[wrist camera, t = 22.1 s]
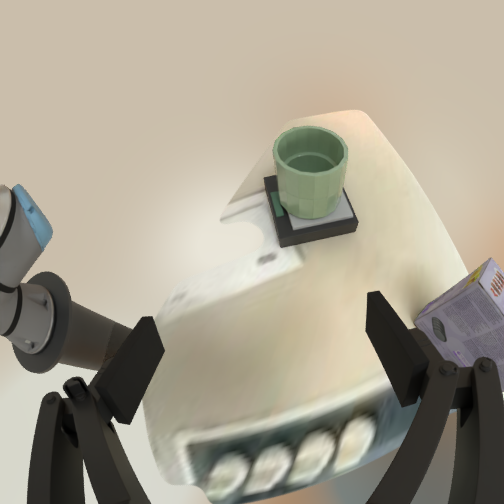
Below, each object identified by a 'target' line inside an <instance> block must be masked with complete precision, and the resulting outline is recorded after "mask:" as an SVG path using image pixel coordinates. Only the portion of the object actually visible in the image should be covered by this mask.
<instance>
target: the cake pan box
mask: <svg viewBox="0 0 504 504" xmlns="http://www.w3.org/2000/svg"><path fill="white" fill-rule="evenodd" d="M414 324H415V325H416V327H417V328H419V329H420V330H421V331H423V332H424V333H425V334H426V335H427V337H428V338H429V339H430V341H431V342H432V344H433V345H434V346H435V347H436V349H437V350H438V351H439V353H440V354H441V355H442V357H443V358H444V360H449V361H452V362H454V363H456V364H457V365H458V367H470V366H473V364H474V362H475V360H476V359H478V358H479V357H488V358H491V359H492V360H493V361H495V363H496V365H497V368H498V373H499V378H500V383H501V388H502V392H504V273H503V271H502V270H501V269H500V268H499V266H498V265H497V264H496V262H495V261H494V260H493V259H492V258H490V259H488V260H487V261H486V262H484V263H483V264H482V265H481V266H480V267H478V268H477V269H476V270H475V271H474V272H472V273H471V274H469V275H468V276H467V277H465V278H464V279H463V280H461V281H460V282H459V283H457V284H456V285H454V286H453V287H452V288H450V289H449V290H448V291H446V292H445V293H444V294H442V295H441V296H439V297H438V298H436V299H435V300H433V301H432V302H430V303H429V304H428V305H427V306H426V307H425V308H424V309H423V311H422V312H421V313H420V314H419V315H418V317H417V318H416V319H415V321H414Z"/></svg>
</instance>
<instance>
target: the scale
mask: <svg viewBox="0 0 504 504" xmlns="http://www.w3.org/2000/svg"><path fill="white" fill-rule="evenodd" d="M264 182H265V188H266V192H267V196H268V199H269V203H270V207H271V211H272V215H273V219H274V223H275V227H276V230H277V234H278V238H279V242H280V247H281V248H283V247H288V246H292V245H297V244H301V243H306V242H311V241H315V240H320V239H324V238H329V237H333V236H338V235H342V234H347V233H351V232H355V231H356V228H357V225H358V220H357V217H356V215H355V213H354V210H353V208H352V206H351V203H350V201H349V199H348V197H347V194H346V192H345V190H344V188H343V190H342V196H341V201H340V203H339V205H338V206H337V208H336V209H335V211H333V212H332V213H330V214H329V215H327V216H325V217H322V218H317V219H305V218H299V217H297V216H295V215H293V214H291V213H289V212H288V211H287V210H286V209H285V208H284V207H283V206H282V205H281V203H280V200H279V196H278V191H277V182H276V175H274V176H269V177H264Z"/></svg>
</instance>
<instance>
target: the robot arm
mask: <svg viewBox="0 0 504 504" xmlns="http://www.w3.org/2000/svg"><path fill="white" fill-rule="evenodd" d="M52 233H53V230H52V227H51V225H50V223H49V221H48V220H47V219H46V217H45V216H44V214H43V213H42V211H41V210H40V209H39V207H38V206H37V205H36V203H35V202H34V201H33V199H32V198H31V196H30V195H29V194H28V193H27V191H26V190H25V189H24V188H23V187H22V186H21V185H20V184H17V185H16V186H14V187H13V188H12V191H11V190H10V189H9V188H8V187H6V186H5V185H0V335H1V336H4V337H6V338H7V339H8V340H9V341H11V342H12V343H13V344H14V345H16V346H17V347H18V348H19V349H21V350H22V351H23V352H25V353H28V354H32V355H37V354H40V353H42V352H43V351H44V350H45V349H46V348H47V347H48V345H49V343H50V342H51V339H52V337H53V334H54V331H55V327H56V320H57V309H56V303H55V299H54V297H53V295H52V293H51V292H50V291H49V290H48V289H46V288H44V287H43V286H41V285H36V284H26V283H20V282H21V280H22V279H23V277H24V276H25V275H26V274H27V272H28V271H29V269H30V268H31V267H32V265H33V264H34V262H35V261H36V260H37V258H38V257H39V256H40V255H41V253H42V252H43V251H44V248H45V247H46V245H47V244H48V242H49V241H50V239H51V238H52ZM365 331H366V333H367V335H368V337H369V339H370V341H371V343H372V345H373V347H374V349H375V351H376V353H377V355H378V357H379V359H380V361H381V363H382V365H383V367H384V369H385V372H386V374H387V376H388V378H389V380H390V382H391V384H392V387H393V389H394V391H395V393H396V395H397V398H398V400H399V402H400V404H401V407H405V406H409V405H412V404H415V403H416V402H417V399H418V396H420V398H421V400H422V401H421V403H420V406H419V408H418V411H417V413H416V415H415V417H414V420H413V422H412V424H411V426H410V428H409V431H408V433H407V435H406V437H405V439H404V441H403V443H402V445H401V447H400V448H399V450H398V452H397V454H396V456H395V458H394V460H393V461H392V463H391V465H390V467H389V468H388V470H387V472H386V473H385V475H384V477H383V478H382V480H381V481H380V483H379V485H378V486H377V488H376V489H375V491H374V492H373V494H372V495H371V497H370V498H369V500H368V501H367V502H366V504H410V503H411V501H412V499H413V498H414V496H415V494H416V492H417V490H418V488H419V486H420V484H421V482H422V480H423V478H424V476H425V474H426V472H427V470H428V467H429V464H430V463H431V460H432V458H433V456H434V453H435V451H436V448H437V446H438V443H439V441H440V438H441V435H442V433H443V429H444V427H445V424H446V421H447V418H448V415H449V411H450V409H457V435H456V451H455V461H454V471H453V478H452V484H451V490H450V496H449V501H448V504H504V400H503V394H502V388H501V383H500V378H499V373H498V368H497V365H496V363H495V361H493V360H492V359H491V358H488V357H479V358H478V359H476V360H475V362H474V364H473V366H470V367H458V365H457V364H456V363H454V362H452V361H449V360H444V358H443V357H442V355H441V354H440V353H439V351H438V350H437V349H436V347H435V346H434V345H433V344H432V342H431V341H430V339H429V338H428V337H427V335H426V334H425V333H424V332H423V331H421V330H420V329H418V328H413V329H409V330H408V329H407V327H406V326H405V324H404V323H403V322H402V320H401V319H400V318H399V316H398V315H397V313H396V312H395V311H394V309H393V308H392V307H391V305H390V304H389V303H388V301H387V300H386V299H385V298H384V296H383V295H382V294H381V292H380V291H374V292H368V293H367V314H366V330H365ZM164 352H165V349H164V347H163V344H162V341H161V339H160V336H159V333H158V331H157V328H156V325H155V322H154V319H153V317H152V316H148V317H142V318H141V319H140V320H139V322H138V323H137V325H136V326H135V327H134V329H133V330H132V332H131V333H130V334H129V336H128V337H127V339H126V340H125V341H124V343H123V344H122V346H121V347H120V349H119V350H118V351H117V353H116V354H115V356H114V357H110V358H109V359H108V360H107V361H105V362H104V364H103V365H102V366H101V368H100V369H99V371H98V372H97V374H96V375H95V377H94V378H93V380H92V381H91V382H90V384H89V385H88V386H87V385H86V383H85V382H84V380H83V378H81V377H72V378H71V379H69V380H67V381H66V382H65V383H64V385H63V390H64V391H65V393H66V394H67V396H68V397H69V398H62V397H61V396H60V394H59V393H58V392H50V393H48V394H46V395H45V396H44V398H43V399H42V402H41V407H40V410H39V415H38V419H37V424H36V429H35V435H34V440H33V446H32V452H31V460H30V468H29V478H28V491H27V504H85V494H84V477H83V459H84V463H85V466H86V470H87V473H88V476H89V479H90V482H91V485H92V488H93V490H94V493H95V496H96V499H97V501H98V504H151V502H150V501H149V499H148V498H147V495H146V494H145V492H144V490H143V488H142V486H141V485H140V483H139V481H138V479H137V477H136V475H135V473H134V471H133V469H132V467H131V465H130V463H129V461H128V458H127V456H126V454H125V451H124V449H123V447H122V445H121V442H120V440H119V438H118V435H117V432H116V430H115V428H114V425H113V423H112V422H111V419H112V417H113V416H114V418H115V419H116V420H117V422H118V423H122V424H128V425H130V423H131V422H132V419H133V417H134V415H135V413H136V411H137V409H138V406H139V404H140V402H141V400H142V398H143V396H144V394H145V391H146V389H147V387H148V385H149V383H150V381H151V379H152V377H153V375H154V372H155V370H156V368H157V366H158V364H159V362H160V360H161V358H162V356H163V354H164Z"/></svg>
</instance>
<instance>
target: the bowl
mask: <svg viewBox="0 0 504 504" xmlns="http://www.w3.org/2000/svg"><path fill="white" fill-rule="evenodd" d="M273 157H274V166H275V174H276V182H277V191H278V196H279V200H280V203H281V205H282V206H283V207H284V208H285V209H286V210H287V211H288V212H289V213H291V214H293V215H295V216H297V217H299V218H305V219H317V218H322V217H325V216H327V215H329V214H330V213H332V212H333V211H335V209H336V208H337V206H338V205H339V203H340V201H341V196H342V190H343V185H344V179H345V173H346V167H347V161H348V147H347V146H346V144H345V142H344V140H343V139H342V138H341V137H339V136H338V135H337V134H336V133H334V132H333V131H330V130H327V129H325V128H322V127H316V126H302V127H295V128H292V129H290V130H288V131H286V132H284V133H282V134H281V135H280V136H279V137H278V138H277V139H276V140H275V143H274V147H273Z"/></svg>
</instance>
